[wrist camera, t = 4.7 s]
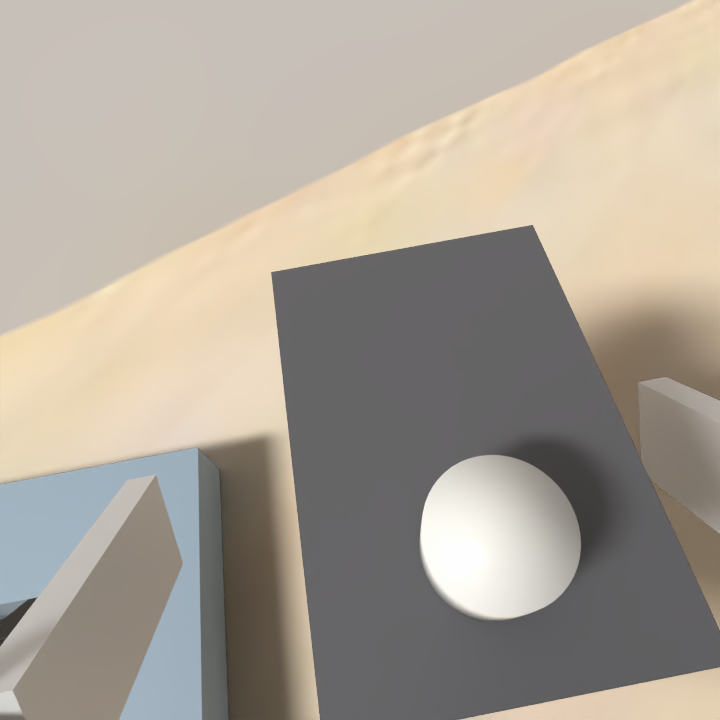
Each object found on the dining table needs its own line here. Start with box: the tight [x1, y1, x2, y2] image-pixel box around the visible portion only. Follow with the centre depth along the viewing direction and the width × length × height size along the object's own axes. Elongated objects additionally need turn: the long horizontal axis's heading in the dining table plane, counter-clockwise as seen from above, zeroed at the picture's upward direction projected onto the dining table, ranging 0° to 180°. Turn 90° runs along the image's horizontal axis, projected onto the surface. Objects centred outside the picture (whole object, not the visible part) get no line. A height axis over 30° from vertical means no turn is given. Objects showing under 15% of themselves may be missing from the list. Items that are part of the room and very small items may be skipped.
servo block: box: [271, 225, 720, 720], centre depth 12 cm, size 4×6×14 cm
